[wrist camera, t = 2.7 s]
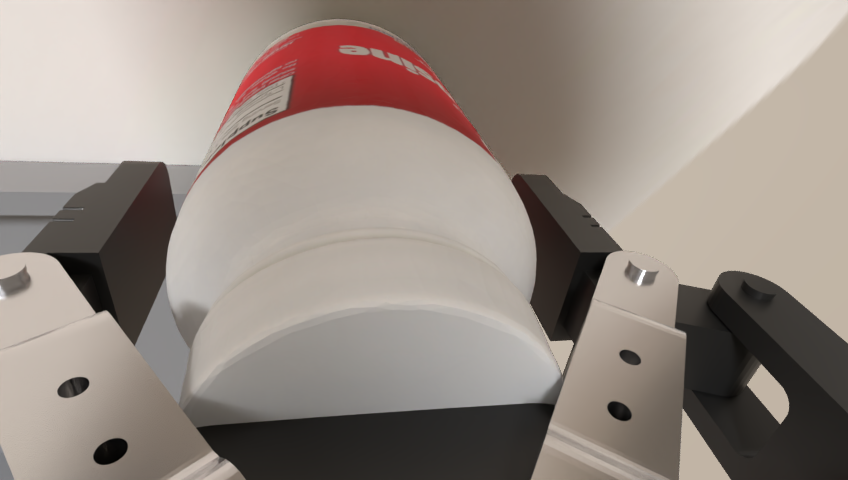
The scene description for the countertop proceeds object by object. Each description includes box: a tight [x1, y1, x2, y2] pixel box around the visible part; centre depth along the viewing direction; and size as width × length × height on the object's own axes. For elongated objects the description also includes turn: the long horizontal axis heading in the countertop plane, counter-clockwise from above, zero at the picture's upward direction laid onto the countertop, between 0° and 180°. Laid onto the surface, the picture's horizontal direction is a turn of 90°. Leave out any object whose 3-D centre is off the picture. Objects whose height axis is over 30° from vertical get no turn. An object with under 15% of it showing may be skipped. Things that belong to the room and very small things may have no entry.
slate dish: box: [0, 161, 201, 480], centre depth 16 cm, size 13×13×2 cm
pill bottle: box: [166, 19, 564, 427], centre depth 10 cm, size 6×6×11 cm
